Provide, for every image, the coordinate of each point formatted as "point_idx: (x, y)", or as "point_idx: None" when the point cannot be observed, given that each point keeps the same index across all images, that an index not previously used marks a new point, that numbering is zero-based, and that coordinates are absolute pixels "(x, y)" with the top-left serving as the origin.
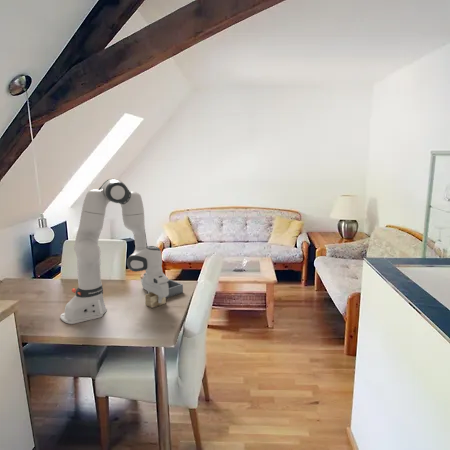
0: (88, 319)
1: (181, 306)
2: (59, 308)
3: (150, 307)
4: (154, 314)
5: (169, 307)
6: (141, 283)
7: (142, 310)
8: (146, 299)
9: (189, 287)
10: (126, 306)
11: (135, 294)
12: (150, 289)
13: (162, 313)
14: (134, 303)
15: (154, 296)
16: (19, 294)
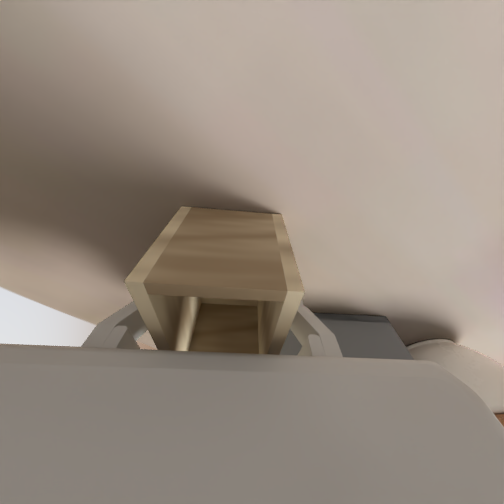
0: None
1: (105, 318)
2: None
3: (203, 208)
4: (4, 122)
5: (123, 283)
6: (501, 365)
7: (191, 97)
8: (266, 247)
9: None
10: (489, 10)
11: (483, 280)
12: (258, 406)
13: (15, 195)
14: (410, 170)
15: (142, 316)
16: None
